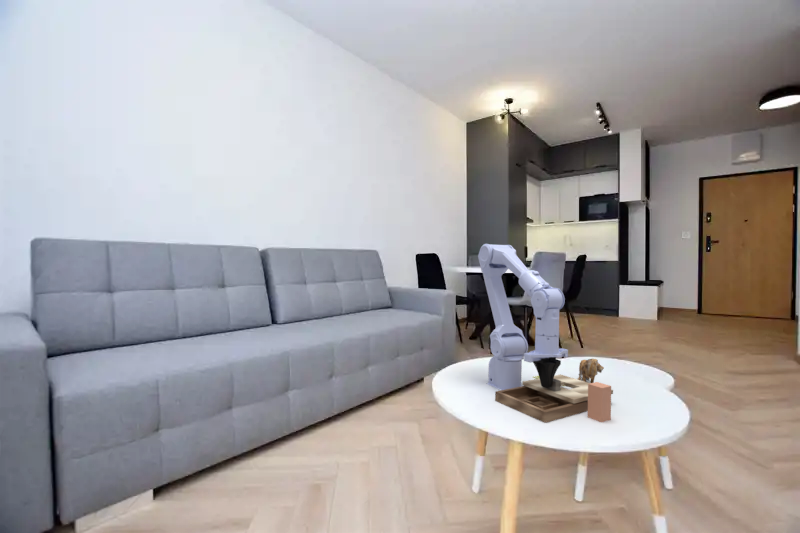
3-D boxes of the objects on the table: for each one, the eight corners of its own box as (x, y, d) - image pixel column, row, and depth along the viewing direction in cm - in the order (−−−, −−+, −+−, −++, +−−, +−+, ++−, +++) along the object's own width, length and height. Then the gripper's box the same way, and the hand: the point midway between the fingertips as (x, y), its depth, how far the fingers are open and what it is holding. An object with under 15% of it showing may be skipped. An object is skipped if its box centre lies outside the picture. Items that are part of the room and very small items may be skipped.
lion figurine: (605, 391, 111) (605, 360, 111) (586, 390, 112) (586, 359, 112) (586, 376, 126) (587, 350, 126) (570, 376, 126) (570, 349, 126)
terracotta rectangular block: (587, 419, 89) (588, 383, 90) (596, 416, 91) (597, 381, 91) (601, 425, 86) (602, 388, 86) (610, 422, 88) (611, 386, 88)
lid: (522, 385, 104) (522, 372, 104) (560, 377, 112) (560, 366, 112) (573, 403, 91) (574, 389, 91) (612, 393, 98) (613, 380, 98)
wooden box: (495, 402, 99) (495, 391, 99) (536, 393, 107) (536, 383, 107) (545, 425, 86) (545, 412, 86) (588, 413, 93) (588, 401, 93)
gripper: (540, 339, 90) (539, 395, 90) (578, 335, 98) (577, 387, 98) (518, 334, 97) (517, 387, 97) (555, 330, 104) (554, 380, 104)
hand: (546, 386), depth 97 cm, fingers closed
